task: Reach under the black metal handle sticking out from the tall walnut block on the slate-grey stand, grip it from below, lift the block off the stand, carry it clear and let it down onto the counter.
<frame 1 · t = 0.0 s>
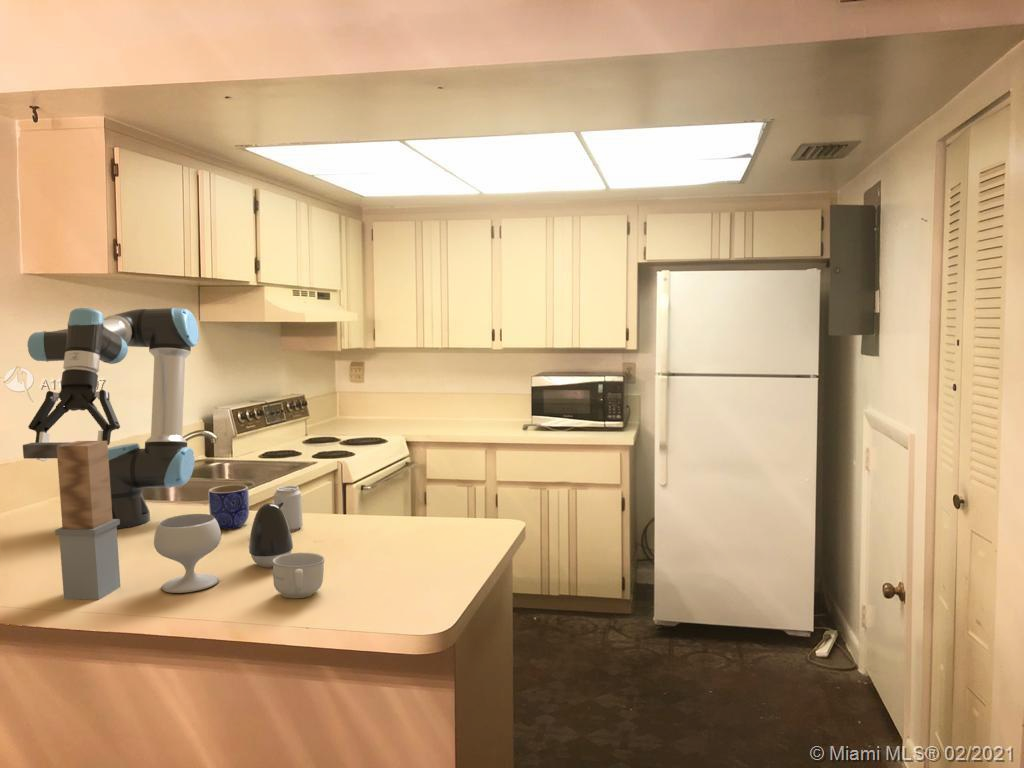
hand: (70, 459, 182), 28 cm above the countertop, tool tilted 20°, fingers open, 13 cm apart
walnut handle block: (88, 524, 172), point 15 cm above the countertop, touching stand
pump dispenser: (272, 564, 191), on the countertop
teacup: (298, 597, 168), on the countertop
planter: (230, 526, 227), on the countertop
stand: (92, 592, 173), on the countertop
chalice: (190, 586, 177), on the countertop
can: (289, 529, 223), on the countertop
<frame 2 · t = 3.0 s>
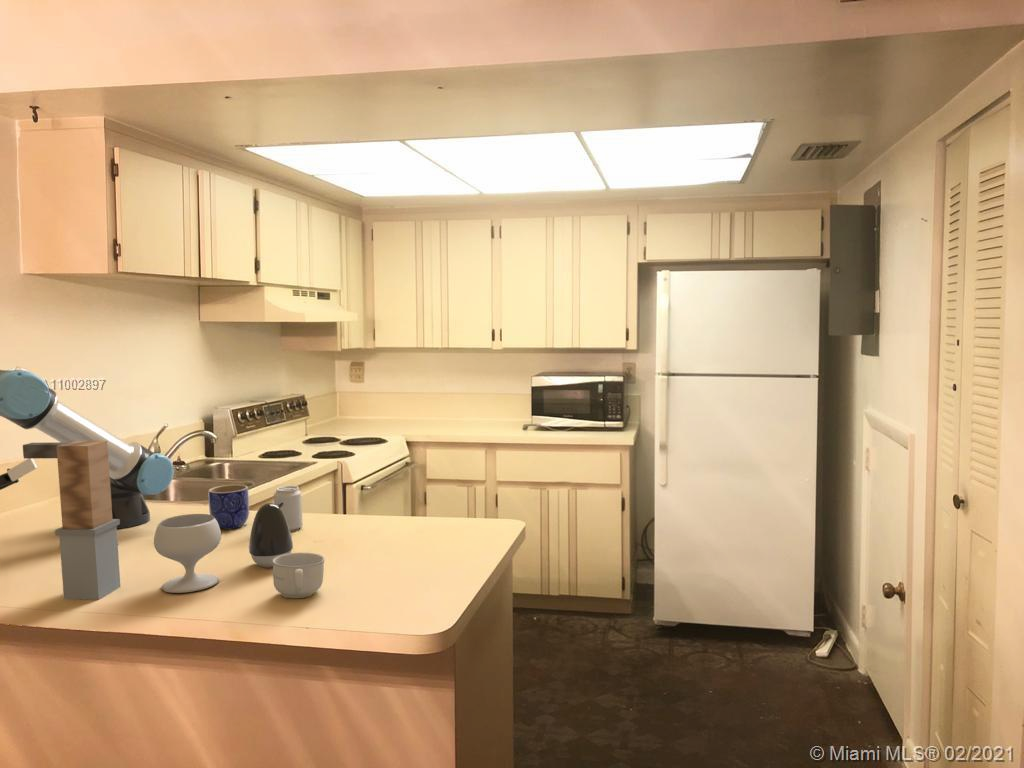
hand: (13, 465, 174), 28 cm above the countertop, tool pointing upward, fingers open, 13 cm apart
nothing on the countertop moved.
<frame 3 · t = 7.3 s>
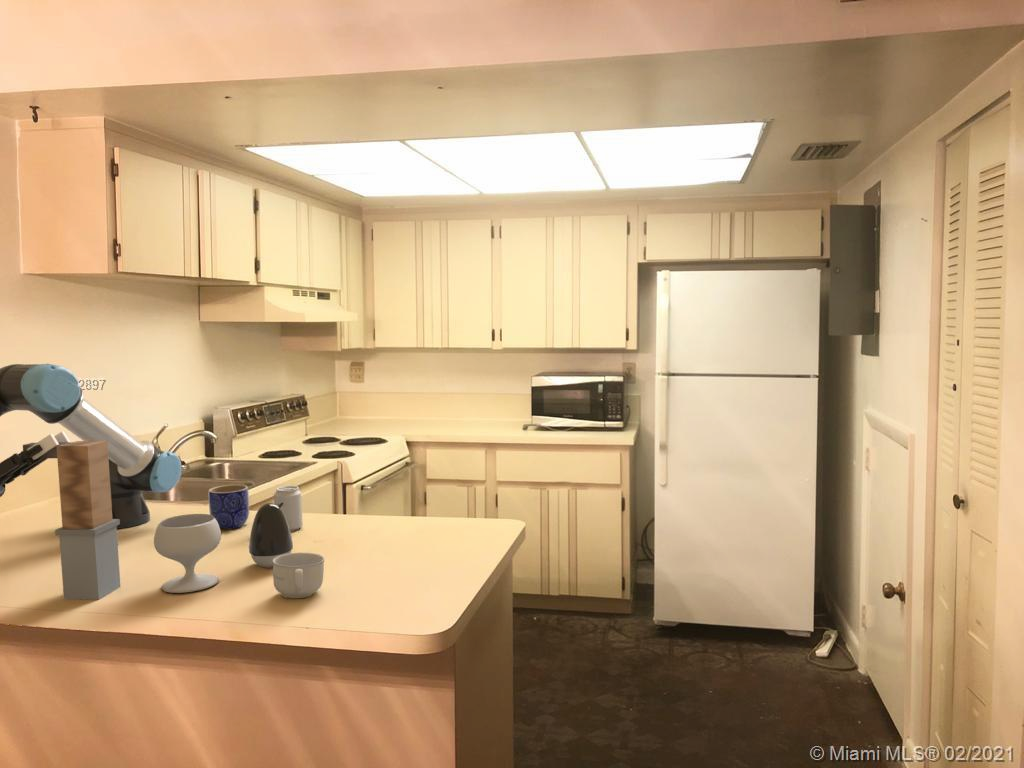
hand: (60, 438, 170), 35 cm above the countertop, tool pointing upward, fingers closed on walnut handle block, 3 cm apart
walnut handle block: (88, 524, 172), point 16 cm above the countertop, touching gripper, stand
everything else where it was.
when the fingers open (25 cm above the countertop, at t = 15.2 s): walnut handle block drops 3 cm and tips over, point 3 cm above the countertop.
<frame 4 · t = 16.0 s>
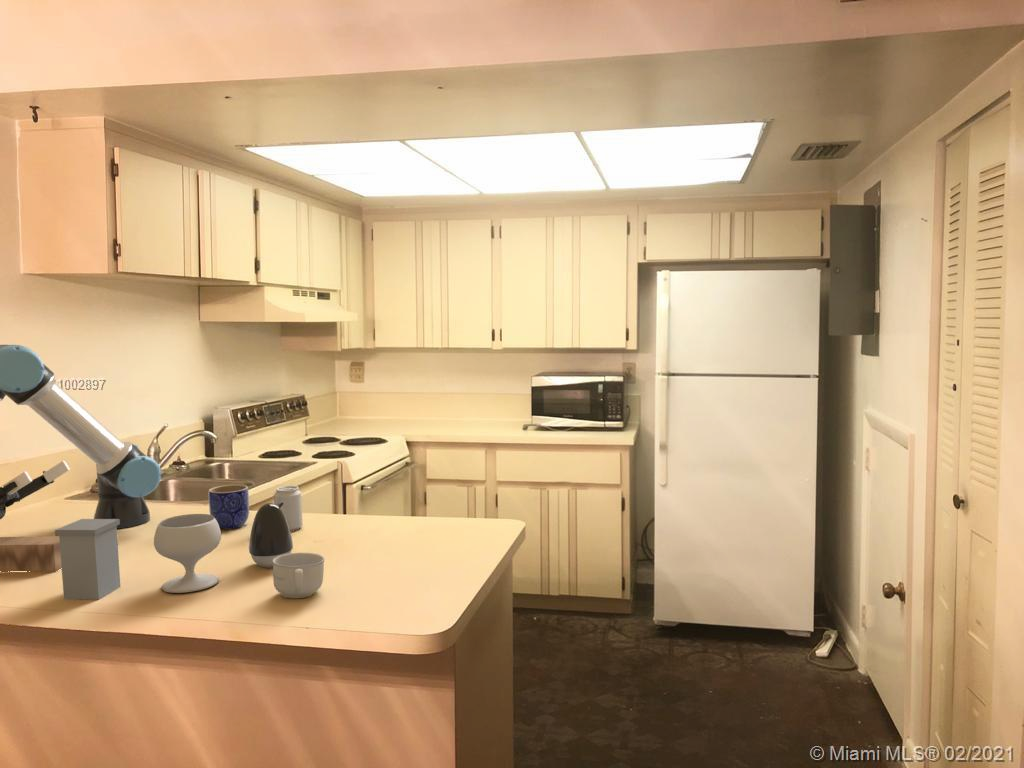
hand: (48, 470, 189), 24 cm above the countertop, tool pointing upward, fingers open, 13 cm apart
walnut handle block: (63, 554, 191), point 3 cm above the countertop, tilted 90°
everything else where it was.
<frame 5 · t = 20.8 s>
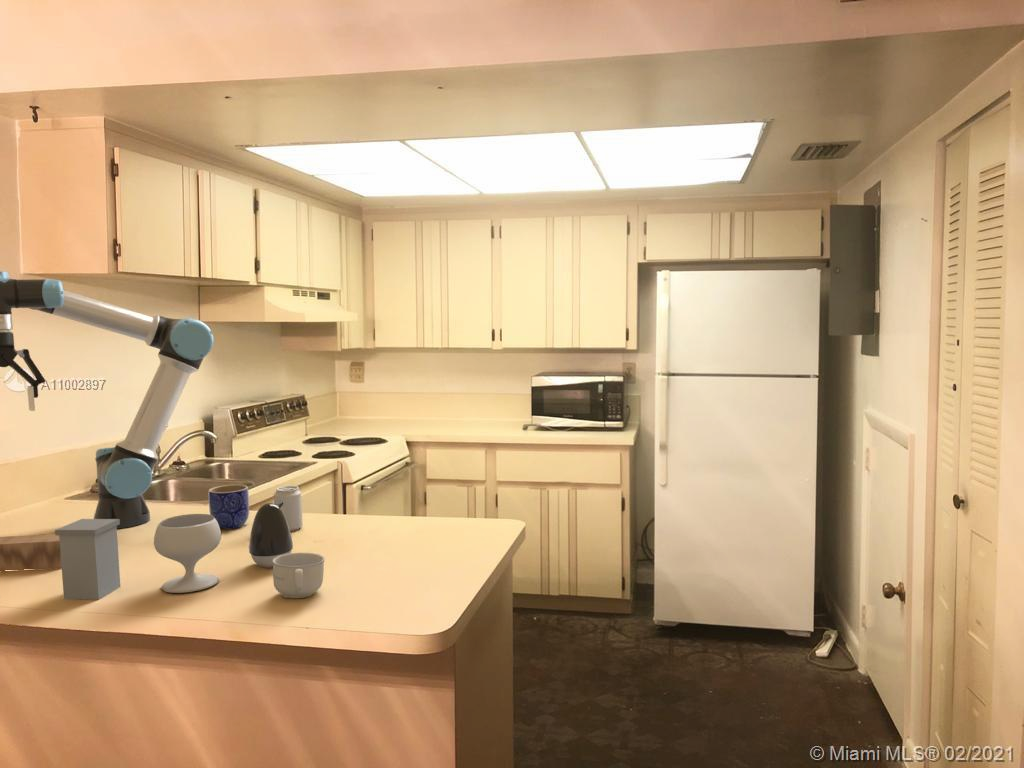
hand: (2, 413, 203), 37 cm above the countertop, tool pointing down, fingers open, 13 cm apart
walnut handle block: (70, 550, 194), point 3 cm above the countertop, tilted 90°
everything else where it was.
at the end: walnut handle block touching countertop; walnut handle block inside the target area (5.8 cm from its centre), point 3.3 cm above the countertop; the gripper is holding nothing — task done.
